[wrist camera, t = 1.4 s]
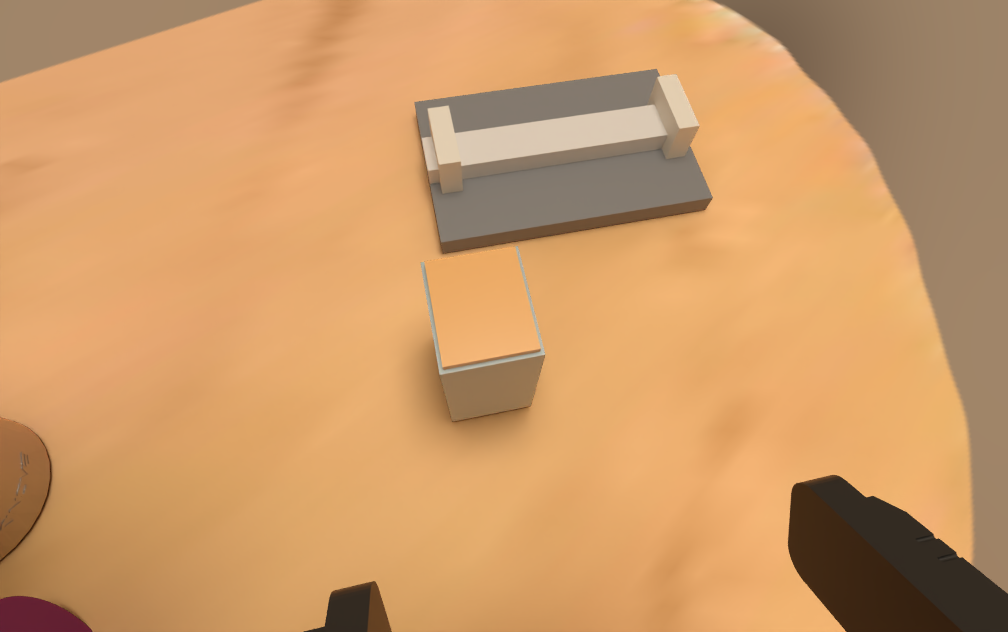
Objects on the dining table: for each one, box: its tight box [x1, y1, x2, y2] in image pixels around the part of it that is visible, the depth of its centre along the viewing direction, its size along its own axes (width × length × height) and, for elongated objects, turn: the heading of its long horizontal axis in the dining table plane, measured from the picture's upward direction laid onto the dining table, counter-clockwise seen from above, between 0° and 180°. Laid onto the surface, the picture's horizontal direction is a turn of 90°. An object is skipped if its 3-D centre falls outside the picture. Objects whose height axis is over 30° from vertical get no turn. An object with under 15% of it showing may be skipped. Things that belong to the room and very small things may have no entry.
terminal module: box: [421, 246, 545, 422], centre depth 31 cm, size 5×6×10 cm
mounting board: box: [415, 69, 713, 253], centre depth 41 cm, size 20×13×5 cm, turn 102°
